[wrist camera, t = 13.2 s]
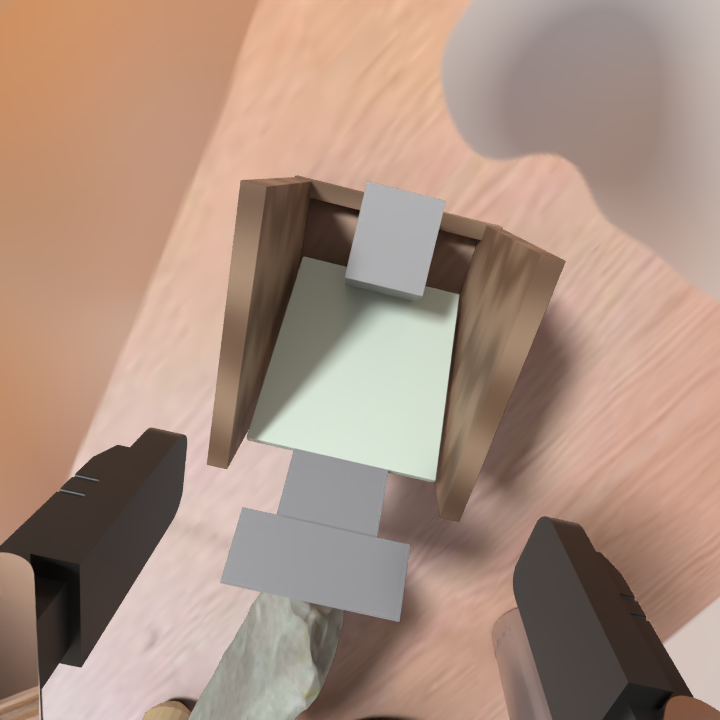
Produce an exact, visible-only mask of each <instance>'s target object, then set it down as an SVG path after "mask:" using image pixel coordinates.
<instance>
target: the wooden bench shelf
mask: <svg viewBox="0 0 720 720" xmlns="http://www.w3.org/2000/svg"><path fill="white" fill-rule="evenodd" d="M363 197H364V192H361V191H357V190H353V189H349V188H345V187H341V186H337V185H333V184H329V183H325V182H321V181H317V180H313V179H309V178H305V177H301V176H295V177H292V178H274V179H255V180H241V182H240V191H239V199H238V207H237V216H236V224H235V233H234V241H233V250H232V258H231V266H230V275H229V283H228V292H227V300H226V308H225V317H224V325H223V334H222V342H221V351H220V359H219V367H218V376H217V384H216V393H215V401H214V410H213V418H212V426H211V435H210V443H209V452H208V460H207V465H211V466H215V467H219V468H224V469H227V468H228V466H229V465H230V463H231V461H232V459H233V457H234V455H235V454H236V452H237V450H238V448H239V446H240V444H241V443H242V441H243V439H244V437H245V435H246V433H247V432H248V430H249V428H250V425H251V421H252V418H253V415H254V412H255V409H256V405H257V402H258V399H259V396H260V393H261V390H262V386H263V383H264V380H265V377H266V374H267V370H268V367H269V364H270V361H271V358H272V354H273V351H274V348H275V345H276V342H277V338H278V335H279V332H280V329H281V326H282V322H283V319H284V316H285V313H286V310H287V306H288V303H289V300H290V297H291V294H292V291H293V287H294V284H295V281H296V278H297V273H298V267H299V262H300V256H301V250H302V245H303V239H304V233H305V228H306V222H307V217H308V211H309V205H310V200H311V198H313V199H317V200H321V201H325V202H329V203H333V204H337V205H341V206H345V207H349V208H353V209H357V210H360V209H361V205H362V201H363ZM439 230H442V231H446V232H450V233H454V234H458V235H462V236H466V237H470V238H474V239H478V241H477V244H476V247H475V251H474V254H473V257H472V260H471V263H470V266H469V269H468V272H467V275H466V278H465V281H464V284H463V287H462V290H461V293H460V296H459V301H458V309H457V316H456V324H455V332H454V340H453V347H452V355H451V363H450V371H449V378H448V386H447V394H446V402H445V410H444V417H443V425H442V433H441V441H440V448H439V456H438V464H437V472H436V480H435V488H436V494H437V501H438V508H439V515H440V518H444V519H448V520H453V521H457V522H459V521H460V519H461V516H462V514H463V511H464V509H465V507H466V504H467V502H468V499H469V497H470V494H471V492H472V489H473V487H474V485H475V482H476V480H477V477H478V475H479V472H480V470H481V467H482V465H483V462H484V460H485V458H486V455H487V453H488V450H489V448H490V445H491V443H492V440H493V438H494V436H495V433H496V431H497V428H498V426H499V423H500V421H501V418H502V416H503V414H504V411H505V409H506V406H507V404H508V401H509V399H510V396H511V394H512V391H513V389H514V387H515V384H516V382H517V379H518V377H519V374H520V372H521V369H522V367H523V365H524V362H525V360H526V357H527V355H528V352H529V350H530V347H531V345H532V343H533V340H534V338H535V335H536V333H537V330H538V328H539V325H540V323H541V320H542V318H543V316H544V313H545V311H546V308H547V306H548V303H549V301H550V298H551V296H552V294H553V291H554V289H555V286H556V284H557V281H558V279H559V276H560V274H561V272H562V269H563V267H564V264H565V262H566V261H565V260H563V259H561V258H559V257H557V256H555V255H553V254H551V253H549V252H547V251H545V250H543V249H541V248H539V247H537V246H535V245H533V244H531V243H529V242H527V241H525V240H523V239H521V238H519V237H517V236H515V235H513V234H511V233H509V232H507V231H505V230H503V228H502V227H500V226H497V225H493V224H489V223H485V222H481V221H477V220H473V219H469V218H465V217H461V216H457V215H453V214H449V213H445V212H443V215H442V219H441V223H440V227H439Z"/></svg>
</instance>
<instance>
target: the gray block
mask: <svg viewBox="0 0 720 720" xmlns="http://www.w3.org/2000/svg"><path fill="white" fill-rule="evenodd" d="M445 203H446V201H444V200H440V199H436V198H432V197H428V196H424V195H420V194H416V193H412V192H408V191H404V190H400V189H396V188H392V187H388V186H384V185H380V184H376V183H372V182H368V181H367V184H366V188H365V192H364V197H363V201H362V205H361V209H360V214H359V218H358V222H357V226H356V231H355V235H354V239H353V243H352V248H351V252H350V256H349V261H348V265H347V269H346V273H345V285H346V286H350V287H354V288H358V289H362V290H366V291H370V292H375V293H379V294H383V295H387V296H391V297H395V298H399V299H403V300H408V301H414V300H416V299H418V298H420V297H422V296H423V293H424V288H425V284H426V280H427V276H428V272H429V268H430V264H431V260H432V256H433V252H434V248H435V244H436V240H437V235H438V231H439V227H440V223H441V219H442V215H443V211H444V207H445Z"/></svg>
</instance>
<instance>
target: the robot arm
mask: <svg viewBox="0 0 720 720" xmlns="http://www.w3.org/2000/svg"><path fill="white" fill-rule="evenodd" d="M186 450H187V437H186V436H185V435H183V434H178V433H174V432H169V431H165V430H160V429H156V428H149V429H147V430H146V431H145V432H144V433H143V434H142V435H141V436H140V437H139V439H138V440H137V441H136V442H135V443H134V444H133V445H132V446H131V447H125V446H121V445H116V446H114V447H112V448H110V449H108V450H106V451H104V452H102V453H100V454H98V455H96V456H94V457H92V458H91V459H90V460H89V461H88V462H87V463H86V464H85V465H84V466H83V467H82V468H81V469H80V470H79V471H78V472H77V473H76V474H75V477H72V478H71V479H69V480H68V481H67V482H66V483H65V484H64V485H63V486H62V487H61V489H60V491H59V492H56V493H55V494H54V495H53V496H52V497H51V498H50V499H49V500H48V501H47V502H46V503H45V504H43V505H42V507H40V509H38V510H37V511H36V512H35V513H34V514H33V515H32V516H31V517H30V518H29V519H28V520H27V521H26V522H25V523H24V524H23V525H22V526H20V527H19V529H17V530H16V531H15V532H14V533H13V534H12V535H11V536H10V537H9V538H8V539H7V540H6V541H5V542H4V543H3V544H2V545H1V546H0V720H43V700H42V688H43V687H44V685H45V684H46V682H47V681H48V679H49V678H50V676H51V675H52V673H53V672H54V670H55V669H56V667H57V666H58V664H59V663H61V664H66V665H71V666H76V667H82V666H83V664H84V662H85V661H86V659H87V658H88V656H89V654H90V653H91V651H92V650H93V648H94V646H95V645H96V643H97V641H98V640H99V638H100V637H101V635H102V633H103V632H104V630H105V629H106V627H107V625H108V624H109V622H110V621H111V619H112V617H113V616H114V614H115V612H116V611H117V609H118V608H119V606H120V604H121V603H122V601H123V600H124V598H125V596H126V595H127V593H128V592H129V590H130V588H131V587H132V585H133V583H134V582H135V580H136V579H137V577H138V575H139V574H140V572H141V571H142V569H143V567H144V566H145V564H146V562H147V561H148V559H149V558H150V556H151V554H152V553H153V551H154V550H155V548H156V546H157V545H158V543H159V542H160V540H161V538H162V537H163V535H164V533H165V532H166V530H167V529H168V527H169V525H170V524H171V522H172V520H173V519H174V517H175V515H176V512H177V510H178V507H179V504H180V501H181V497H182V492H183V482H184V472H185V461H186ZM513 590H514V595H515V599H516V602H517V605H518V608H517V609H514V610H512V611H510V612H508V613H506V614H505V615H503V616H502V617H501V618H500V619H499V620H498V621H497V623H496V624H495V626H494V628H493V631H492V640H493V645H494V649H495V656H496V659H497V663H498V668H499V672H500V678H501V682H502V687H503V691H504V696H505V700H506V705H507V709H508V714H509V718H510V720H720V712H719V711H718V710H716V709H715V708H713V707H711V706H710V705H708V704H707V703H704V702H703V701H701V700H698V699H695V698H693V695H692V694H691V692H690V690H689V688H688V687H687V685H686V683H685V682H684V680H683V678H682V677H681V675H680V673H679V672H678V670H677V668H676V666H675V665H674V663H673V661H672V660H671V658H670V657H669V655H668V653H667V651H666V649H665V648H664V646H663V644H662V643H661V641H660V639H659V638H658V636H657V634H656V632H655V631H654V629H653V627H652V626H651V624H650V622H649V621H646V615H645V614H644V612H643V610H642V609H641V607H640V605H639V604H638V602H636V601H635V600H634V598H635V597H634V595H633V593H632V592H631V590H630V588H629V587H628V585H627V583H626V581H625V580H624V578H623V576H622V575H621V573H620V572H619V571H618V570H617V569H616V568H615V567H614V566H613V565H612V564H611V563H610V562H609V561H608V560H607V559H606V558H605V557H604V556H603V555H602V554H601V553H599V552H596V551H595V549H594V547H593V546H592V544H591V542H590V540H589V538H588V537H587V535H586V533H585V531H584V529H583V528H582V527H581V526H580V525H579V524H577V523H573V522H568V521H564V520H559V519H555V518H550V517H546V516H544V517H541V518H540V519H539V520H538V521H537V523H536V525H535V527H534V529H533V531H532V533H531V536H530V538H529V540H528V542H527V544H526V546H525V548H524V550H523V552H522V554H521V556H520V558H519V560H518V562H517V565H516V567H515V571H514V577H513Z"/></svg>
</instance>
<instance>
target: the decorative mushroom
mask: <svg viewBox="0 0 720 720" xmlns="http://www.w3.org/2000/svg"><path fill="white" fill-rule="evenodd" d="M190 715H191V712H190V711H189V710H188V708H187V707H186V706H185V705H184V704H182V703H181V702H178V701H169V702H164V703H160V704H158V705H157V706H155V707H153V708H151V709H150V710H148V711H147V712H146V713H145V715H144V717H143V719H142V720H188V719H189V717H190Z"/></svg>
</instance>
